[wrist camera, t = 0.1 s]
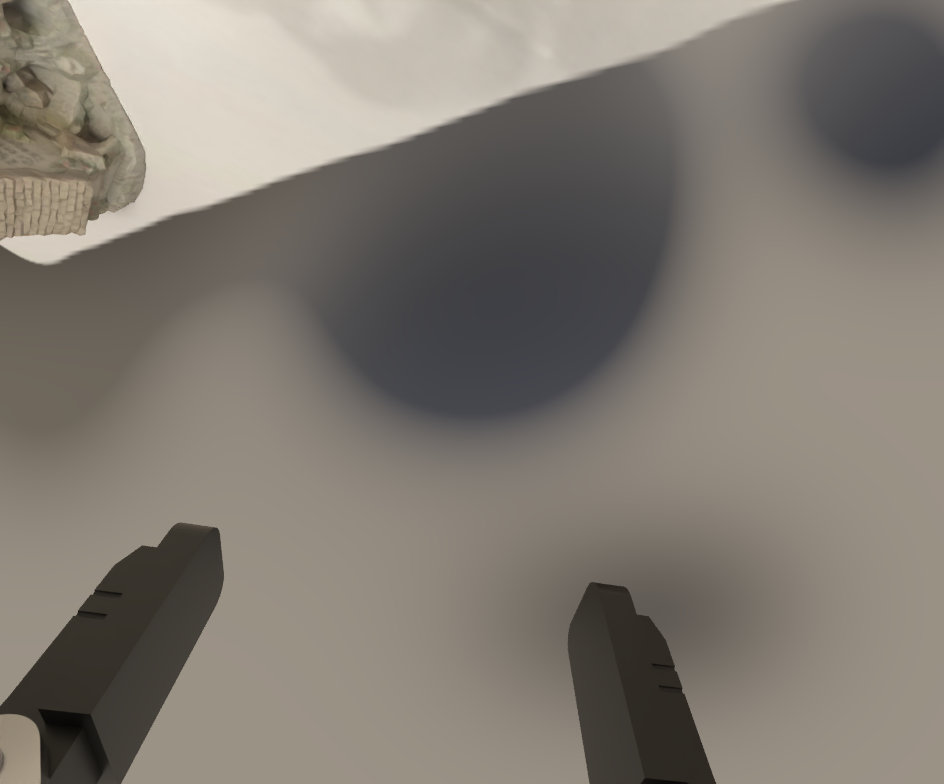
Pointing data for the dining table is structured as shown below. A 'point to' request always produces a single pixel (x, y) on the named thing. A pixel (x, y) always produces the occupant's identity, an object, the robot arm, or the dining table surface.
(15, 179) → the ceramic cottage
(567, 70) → the dining table surface
